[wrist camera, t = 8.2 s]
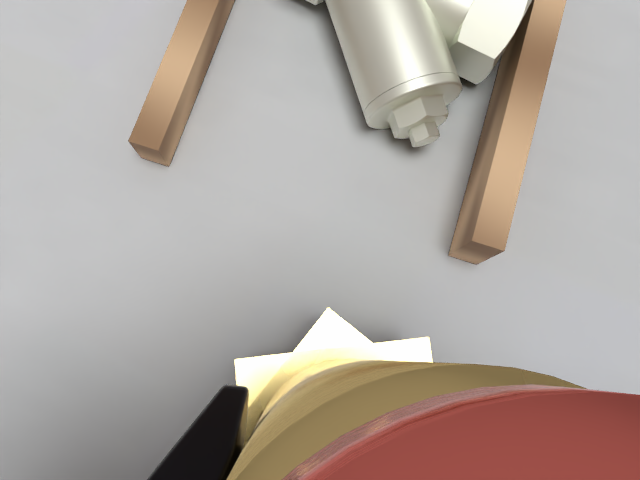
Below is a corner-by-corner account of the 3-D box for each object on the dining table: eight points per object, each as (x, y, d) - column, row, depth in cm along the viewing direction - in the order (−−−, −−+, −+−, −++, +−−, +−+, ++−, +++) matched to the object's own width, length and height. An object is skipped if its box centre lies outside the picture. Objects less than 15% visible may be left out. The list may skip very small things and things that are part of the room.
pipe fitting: (432, 176, 20) (510, 21, 21) (461, 142, 16) (556, -46, 17) (238, 77, 20) (323, -70, 21) (220, 22, 16) (325, -156, 17)
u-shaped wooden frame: (476, 264, 18) (504, 251, 16) (141, 157, 19) (118, 128, 16) (548, -18, 21) (582, -68, 18) (251, -111, 21) (245, -171, 19)
